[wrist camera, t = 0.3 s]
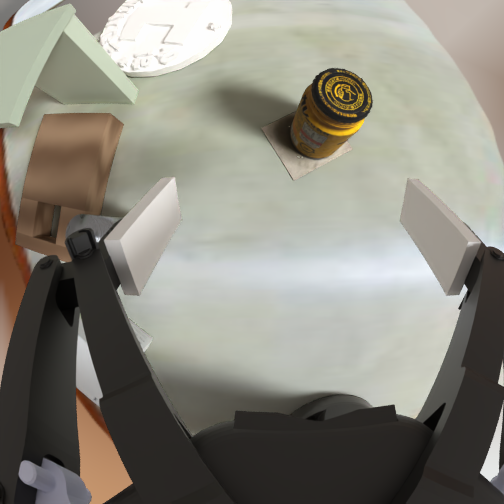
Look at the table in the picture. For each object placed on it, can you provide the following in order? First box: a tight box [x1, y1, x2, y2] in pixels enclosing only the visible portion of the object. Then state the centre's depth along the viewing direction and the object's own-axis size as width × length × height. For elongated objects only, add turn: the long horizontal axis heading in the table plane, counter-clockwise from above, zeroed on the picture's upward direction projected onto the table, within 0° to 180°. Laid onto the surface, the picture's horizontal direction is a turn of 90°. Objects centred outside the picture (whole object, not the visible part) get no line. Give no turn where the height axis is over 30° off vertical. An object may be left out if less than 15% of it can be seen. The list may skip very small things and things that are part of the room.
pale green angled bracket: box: [0, 4, 139, 128], centre depth 21 cm, size 11×14×19 cm
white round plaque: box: [99, 0, 232, 77], centre depth 29 cm, size 20×20×3 cm
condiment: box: [261, 68, 373, 181], centre depth 25 cm, size 7×8×12 cm
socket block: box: [15, 113, 124, 262], centre depth 29 cm, size 18×12×4 cm, turn 168°
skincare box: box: [76, 314, 153, 406], centre depth 27 cm, size 10×6×10 cm, turn 54°
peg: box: [65, 214, 121, 243], centre depth 25 cm, size 3×3×14 cm
